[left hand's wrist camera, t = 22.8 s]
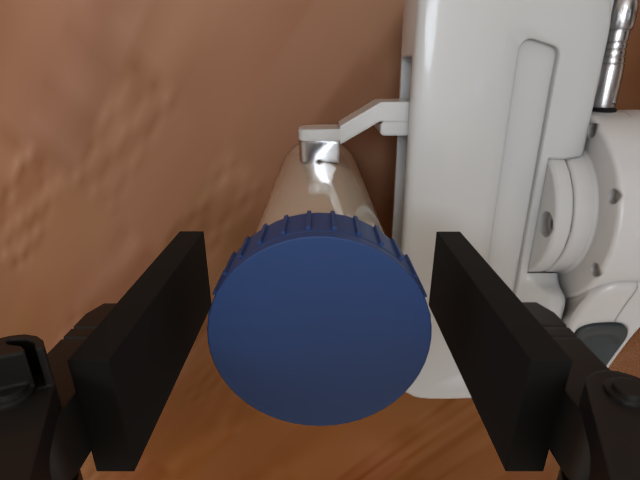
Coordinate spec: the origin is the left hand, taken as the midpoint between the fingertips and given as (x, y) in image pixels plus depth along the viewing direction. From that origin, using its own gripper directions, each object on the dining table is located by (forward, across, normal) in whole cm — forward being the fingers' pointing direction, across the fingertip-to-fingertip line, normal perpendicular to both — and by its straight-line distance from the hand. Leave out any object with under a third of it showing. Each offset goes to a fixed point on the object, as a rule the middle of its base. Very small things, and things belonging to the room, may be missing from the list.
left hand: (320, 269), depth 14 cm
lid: (-4, 0, 0) cm, 4 cm away
